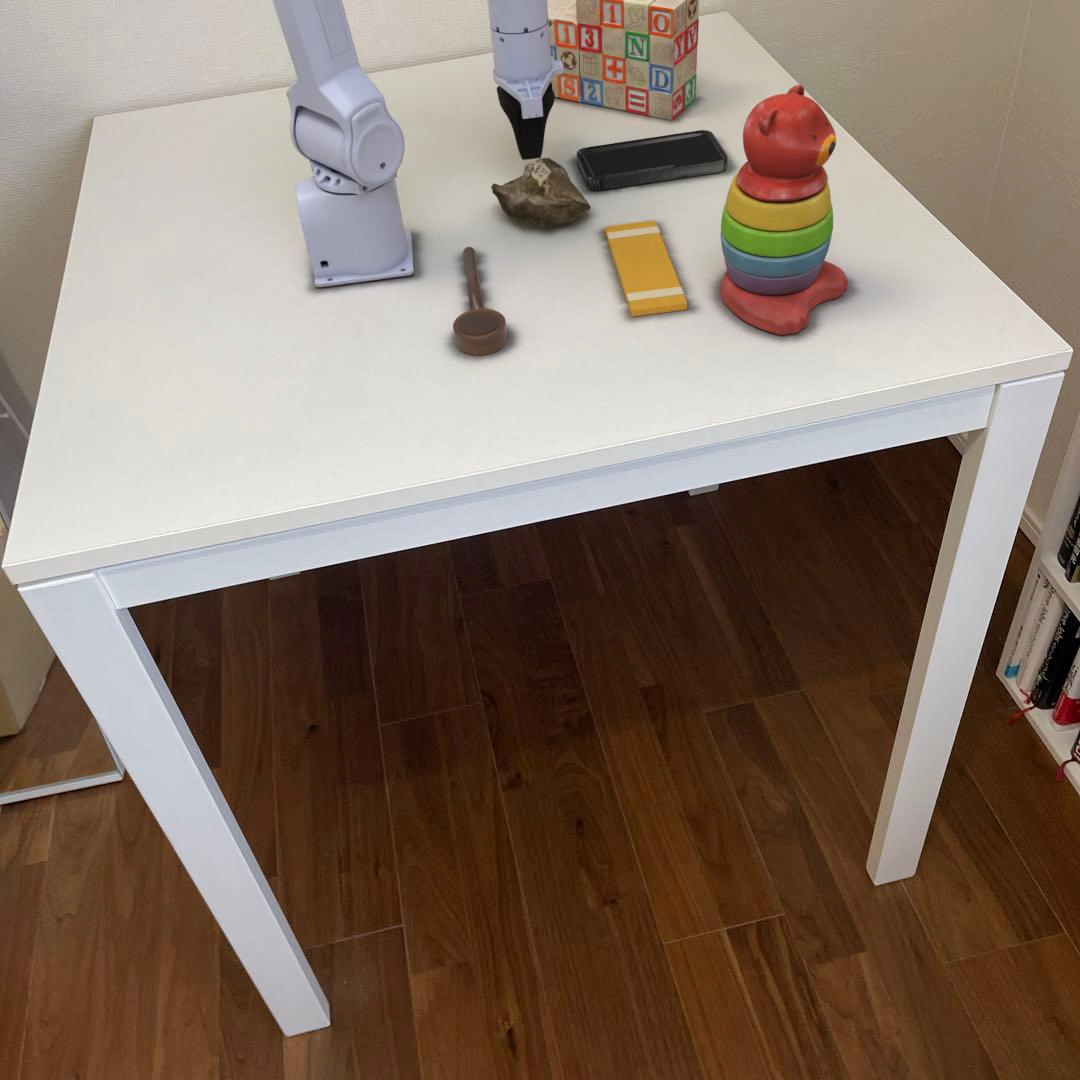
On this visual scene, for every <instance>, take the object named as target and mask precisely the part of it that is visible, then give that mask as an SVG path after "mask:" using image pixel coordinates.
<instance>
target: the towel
mask: <svg viewBox="0 0 1080 1080" xmlns="http://www.w3.org/2000/svg"><path fill="white" fill-rule="evenodd" d="M604 234H605V237H606V240H607V244H608V247H609V250H610V252H611V253H610V254H611V256H612V259H613V262H614V266H615V268H616V272H617V274H618V278H619V281H620V284H621V287H622V290H623V293H624V297H625V300H626V302H627V306H628V309H629V312H630V315H631V318H632V317H640V316H648V315H654V314H655V315H657V314H663V313H671V312H678V311H685V310H688V302H687V299H686V295H685V292H684V290H683V289H684V288H683V287H682V286H681V283H680V281H679V278H678V276H677V272H676V270H675V268H674V265H673V262H672V260H671V257H670V255H669V253H668V250H667V248H666V245H665V242H664V240H663V238H662V237H663V236H662V235H661V231H660V228H659V226H658V224H657V222H656V220H655V219H653V220H647V221H646V220H645V221H638V222H630V223H623V224H622V223H621V224H615V225H607V226H604Z"/></svg>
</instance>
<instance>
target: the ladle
mask: <svg viewBox="0 0 1080 1080" xmlns="http://www.w3.org/2000/svg"><path fill="white" fill-rule="evenodd" d="M462 257H463V265H464V273H465V279H466V287H467V293H468V301H469V309H470V310H467V311H464V312H463V313H461V314H459V315H458V316H457V317H456V318H455V320H454V321H453V323H452V330H453V336H454V343H455V346H456V348H457V349H458V350H459V351H460V352H461V353H464V354H465V355H468V356H469V355H470V356H476V357H477V356H479V357H480V356H487V355H491V354H494V353H496V352H498V351H500V350H501V349H503V347H504V346H505V345H506V344H507V342H508V331H507V322H506V321H507V320H506V318H505V316H504V315H503V314H502V313H501V312H500V311H497V310H496V309H492V308H485V307H484V300H483V293H482V287H481V281H480V275H479V274H480V273H479V269H478V268H479V267H478V260H477V254H476V249H475V248H474V247H472V246H466V247H464V249H463V251H462Z"/></svg>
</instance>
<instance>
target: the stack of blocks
mask: <svg viewBox="0 0 1080 1080" xmlns="http://www.w3.org/2000/svg"><path fill="white" fill-rule="evenodd" d="M547 5H548V20H549V35H550V49H551V61H556V60H559V61H562V63H563V66H564V73H563V74H561V75H555V76H554V77H553V78H552V80H551V83H552V90H553V92H554V95H555V98H560V99H562V100H563V99H564V100H568V101H572V102H578V103H584V104H590V105H595V106H600V107H604V108H605V107H606V108H610V109H615V110H620V111H626V112H630V113H632V114H633V113H634V114H639V115H642V116H650V117H653V118H657V119H662V120H667V121H673V120H674V119H675V118H676V117H678V116H679V115H680V114H681V113H682V112H683V111H684V110H685V109H686V108H687V107H688V106H690V105H691V104H692V103H693V102H694V101H695V100H696V98H697V97H696V96H697V66H698V44H699V23H700V19H699V12H700V11H699V10H700V7H699V6H700V0H547Z"/></svg>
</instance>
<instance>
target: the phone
mask: <svg viewBox="0 0 1080 1080" xmlns="http://www.w3.org/2000/svg"><path fill="white" fill-rule="evenodd" d="M576 164H577V166H578V169H579V172H580V174H581V176H582V178H583V181H584V184H585V186H586V188H587V189H589V190H592V191H603V190H609V189H611V190H612V189H617V188H623V187H630V186H636V185H644V184H648V183H649V184H650V183H656V182H662V181H669V180H675V179H682V178H683V179H684V178H689V177H696V176H702V175H703V176H704V175H709V174H714V173H716V174H717V173H721V172H723V171H726V170H727V168H728V154H727V153H726V151H725V150H724V148H723V147H722V145H721V144H720V142H719V141H718V139H717V137H716V136H715V135H714V133H713V132H712V131H710V130H706V129H701V130H700V129H699V130H694V131H693V130H692V131H685V132H680V133H679V132H678V133H673V134H666V135H659V136H653V137H646V138H640V139H633V140H626V141H625V140H624V141H619V142H612V143H606V144H599V145H593V146H585V147H581V148H579V149H577V151H576Z"/></svg>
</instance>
